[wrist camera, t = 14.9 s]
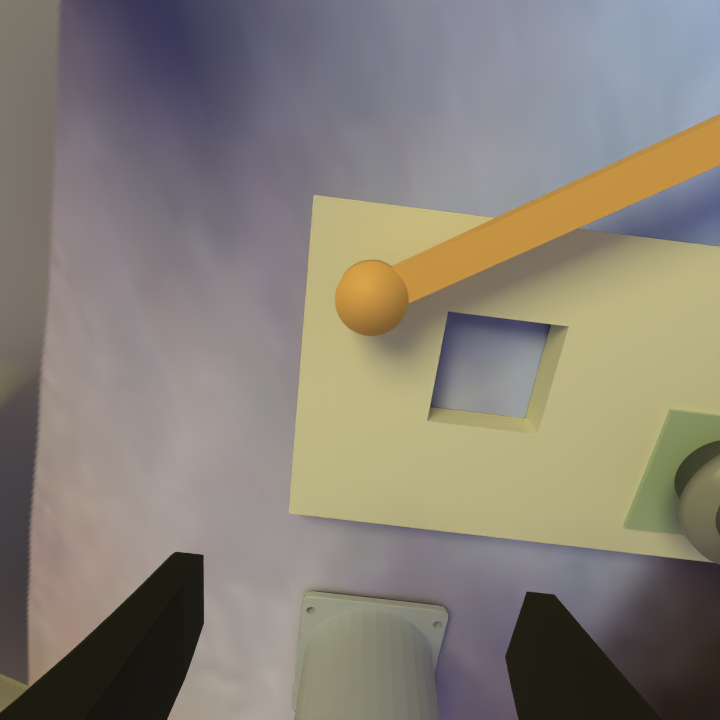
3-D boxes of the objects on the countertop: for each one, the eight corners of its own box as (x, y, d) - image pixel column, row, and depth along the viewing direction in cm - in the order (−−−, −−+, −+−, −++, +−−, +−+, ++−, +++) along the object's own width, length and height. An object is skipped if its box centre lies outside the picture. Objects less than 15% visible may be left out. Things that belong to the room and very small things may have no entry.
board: (720, 543, 21) (762, 581, 19) (294, 493, 20) (285, 526, 18) (859, 266, 16) (935, 273, 14) (318, 197, 16) (310, 193, 14)
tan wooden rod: (826, 128, 13) (880, 117, 11) (355, 336, 15) (353, 347, 14) (817, 45, 12) (874, 22, 11) (326, 277, 14) (322, 282, 13)
